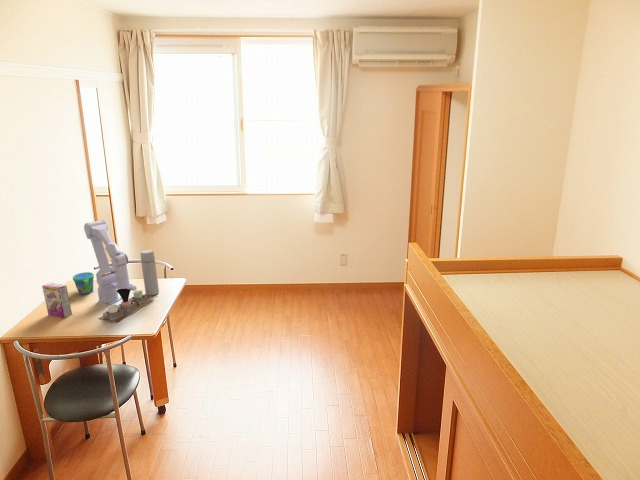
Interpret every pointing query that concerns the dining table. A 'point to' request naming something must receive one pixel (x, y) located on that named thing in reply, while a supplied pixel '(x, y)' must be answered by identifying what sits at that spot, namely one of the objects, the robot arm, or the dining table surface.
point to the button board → (126, 309)
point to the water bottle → (149, 272)
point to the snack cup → (84, 282)
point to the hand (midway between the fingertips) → (125, 301)
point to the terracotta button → (126, 303)
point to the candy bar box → (57, 300)
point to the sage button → (138, 295)
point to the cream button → (112, 309)
